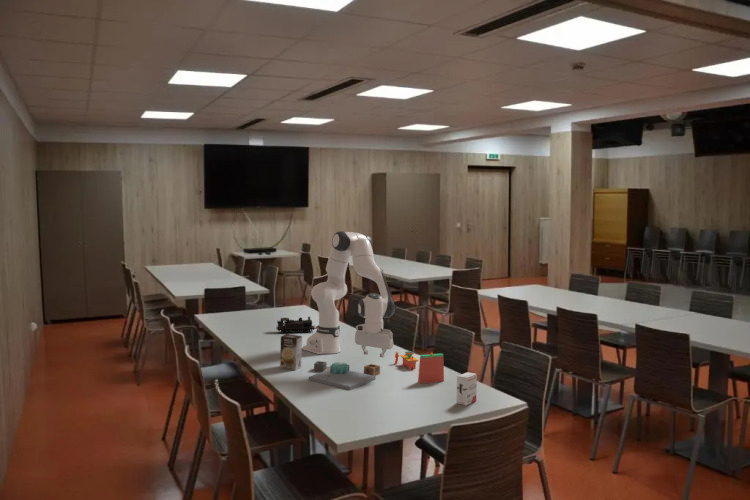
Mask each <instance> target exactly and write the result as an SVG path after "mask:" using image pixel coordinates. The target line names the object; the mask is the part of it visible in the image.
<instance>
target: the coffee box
mask: <svg viewBox="0 0 750 500" xmlns="http://www.w3.org/2000/svg"><path fill="white" fill-rule="evenodd" d="M302 343H303V336H302V335H298V334H297V335H296V334H291V333H284V334H283V335H282V336H280V357H279V359H280V360H279V361H280V362H279V366H280V367H279V369H285V370H292V371H297V370H299V369H300V368H302V352H303V351H302V350H303V349H302V347H303V346H302Z"/></svg>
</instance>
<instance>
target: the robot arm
mask: <svg viewBox="0 0 750 500" xmlns="http://www.w3.org/2000/svg"><path fill="white" fill-rule="evenodd" d="M331 243H332V244H331V245H332V247H331V249H330V253H329V256H328V260H327V263H326V266H325V271H326V273H327V280H326V281H324V282H319V283H318V284H316V285H314V286H312V288H311V291H310V295H311V298H312V299H313V301H314V302H315V303H316V306H317V309H318V325H317V326H316V325H315V327H314V328H315V329H314V330H316V331H315V332H314V333H312V334H311V335H310V336H308V338H307V340H306V344H305V345H303V346H302V350H304V351H307V352H310V353H314V354H317V355H323V354H324V355H327V354H331V355H332V354H338V353H341V352H342V347H341V343H340V332H341V330H340V329H341V327H340V312H339V310H338V309H337V307H336V305H335V301H338V300H341V299H342V298H343V297H345V296H346V295H347V293H348V285H347V284H346V272H347V268H348V265H349V262H350V258H352V266H353V270H354V272H356V274H357V275H359V276H361V277H363V278H366V279H369V280H371V281H373V282H374V283H376V286H377V288H378V290H379V293H380V294H379V293H375V292H371V293H368V294H366V295H365V298H361V299H360V300H359V301H358V303H357V314H358V315H359V316H361V318H364V319H365V320H364V323H362V324H358V325H356V326H355V329H356V331H355V334H354V342H355V345H357V346H358V345H360V346H361V349H362V351H363V355H369V350H367V348H366V347H371V348H377V349H381V353H379V358H384V357H385V354H386V352H387V350H391V349H393V348H394V339H393V335H394V334H393V332H392V331H391V329H386V328H384V319H383V318H387V319H389V318H391V317H392V316H393V315H394V313H395V312H396V305H395V301H394V299H393V297H392V295H391V292H390V289H389V285H388V283H387V279H386V277H385V273H384V271H383V269H382V268H381V267H379V266H378V265H377V263H376V262H375V258H374V257H375V255H374V251H373V247H372V246H373V241H372V238H371V236H369V235H367V234H364V233H360V232H355V231H353V232H351V231H341V230H340V231H336V232H335V233H334V234H333V236H332V240H331Z"/></svg>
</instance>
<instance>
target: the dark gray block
mask: <svg viewBox="0 0 750 500" xmlns="http://www.w3.org/2000/svg"><path fill="white" fill-rule="evenodd" d="M327 363H328V362H327V361H320V360H319V361H318V360H317V361H315V362H314V363H313V371H314V372H320V373H321V372H323V371H326V367H328V366H327Z"/></svg>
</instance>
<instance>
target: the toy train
mask: <svg viewBox="0 0 750 500" xmlns="http://www.w3.org/2000/svg"><path fill="white" fill-rule="evenodd" d="M276 323H277V325H276V327H275V328H276V331H278V332H280V333H281V334H282V333H283V334H291V333H294V334H299V333H306V334H307V333H310V332H313V331H314V330H316V329H315V328H316V327H315V325H313V320H312V319H311V316H308V317H307V319H303V317H299V318H298V319H297V320H295V319H290V318H289V317H281V318H280V320H276Z"/></svg>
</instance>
